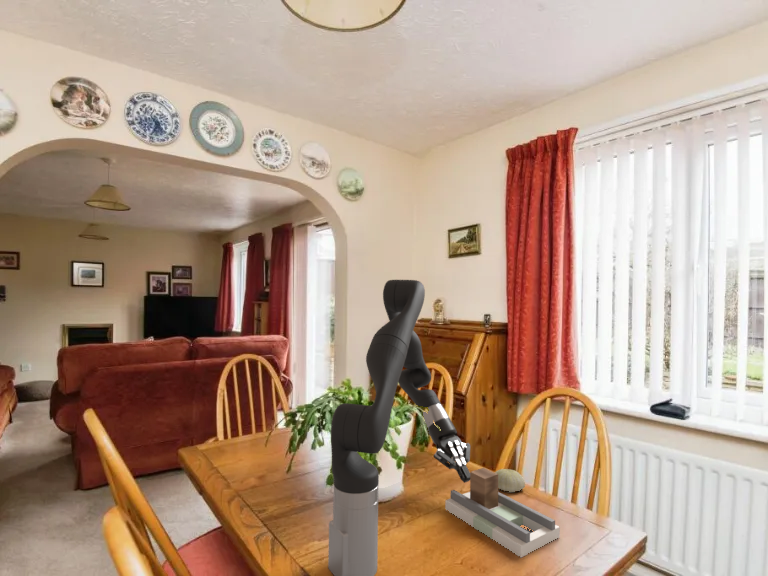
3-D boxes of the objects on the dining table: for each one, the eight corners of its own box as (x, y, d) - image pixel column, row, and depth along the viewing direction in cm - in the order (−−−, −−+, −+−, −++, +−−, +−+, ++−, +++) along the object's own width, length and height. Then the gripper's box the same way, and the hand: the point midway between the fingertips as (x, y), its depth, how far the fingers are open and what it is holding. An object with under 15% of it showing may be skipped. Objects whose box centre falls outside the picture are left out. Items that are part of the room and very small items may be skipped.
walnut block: (484, 511, 104) (484, 478, 104) (470, 502, 108) (470, 471, 108) (498, 505, 107) (498, 474, 107) (483, 497, 111) (483, 467, 111)
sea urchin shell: (494, 471, 130) (512, 456, 127) (512, 493, 127) (531, 479, 124) (485, 482, 122) (504, 466, 119) (504, 506, 119) (524, 491, 116)
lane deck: (520, 557, 89) (521, 536, 89) (445, 509, 109) (445, 492, 109) (559, 537, 97) (559, 518, 97) (482, 496, 117) (482, 480, 117)
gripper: (426, 420, 117) (457, 480, 106) (461, 413, 124) (492, 469, 114) (415, 433, 121) (442, 493, 111) (448, 426, 129) (477, 481, 118)
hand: (467, 480), depth 112 cm, fingers closed
